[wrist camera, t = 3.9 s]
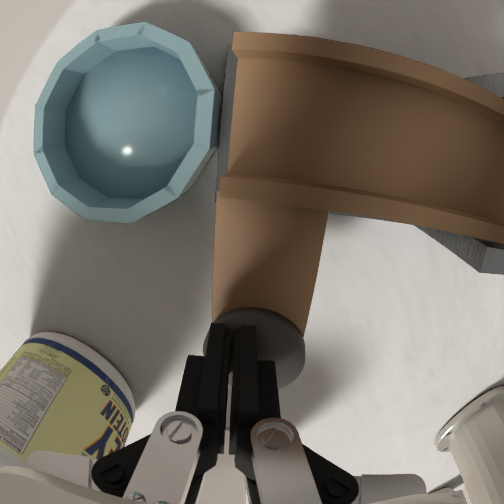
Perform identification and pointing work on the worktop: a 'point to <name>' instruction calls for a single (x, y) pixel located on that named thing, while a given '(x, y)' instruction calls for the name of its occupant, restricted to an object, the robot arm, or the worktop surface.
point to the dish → (126, 123)
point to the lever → (339, 171)
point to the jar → (224, 481)
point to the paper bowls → (452, 494)
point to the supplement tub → (61, 401)
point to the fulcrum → (467, 248)
